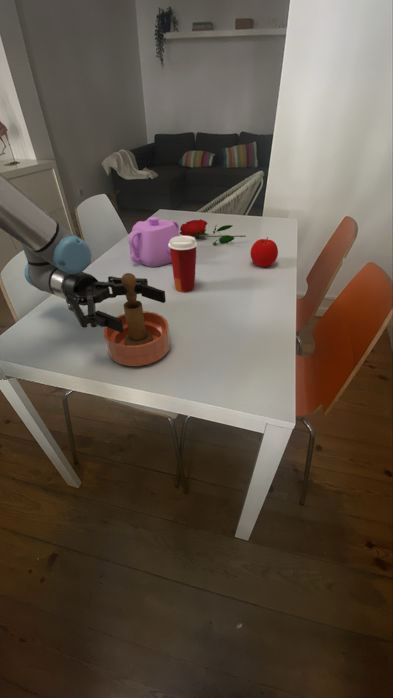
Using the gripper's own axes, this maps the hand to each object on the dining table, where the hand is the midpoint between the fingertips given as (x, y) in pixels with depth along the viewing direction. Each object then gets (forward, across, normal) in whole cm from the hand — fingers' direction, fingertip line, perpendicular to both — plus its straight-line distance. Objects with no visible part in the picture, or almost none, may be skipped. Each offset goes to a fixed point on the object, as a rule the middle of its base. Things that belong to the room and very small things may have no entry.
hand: (144, 310), depth 66 cm
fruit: (+2, -60, -12) cm, 61 cm away
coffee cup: (-12, -31, -12) cm, 35 cm away
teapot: (-33, -45, -12) cm, 57 cm away
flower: (-26, -70, -12) cm, 76 cm away
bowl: (-3, 0, -11) cm, 12 cm away
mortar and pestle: (-3, 0, -11) cm, 11 cm away
